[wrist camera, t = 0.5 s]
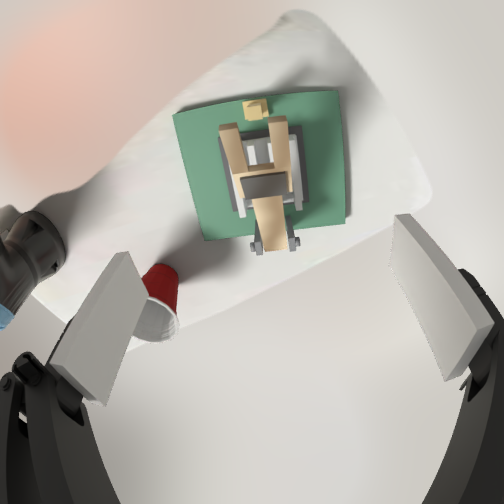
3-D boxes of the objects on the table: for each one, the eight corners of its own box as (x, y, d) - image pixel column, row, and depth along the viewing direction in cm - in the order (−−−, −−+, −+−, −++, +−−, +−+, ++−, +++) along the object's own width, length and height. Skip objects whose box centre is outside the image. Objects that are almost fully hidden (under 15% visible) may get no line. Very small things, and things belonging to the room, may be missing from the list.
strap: (256, 247, 37) (257, 254, 37) (218, 125, 19) (218, 133, 19) (294, 242, 37) (295, 250, 36) (285, 115, 19) (287, 123, 18)
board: (206, 236, 44) (195, 271, 36) (175, 113, 33) (150, 122, 26) (342, 219, 42) (360, 251, 34) (334, 90, 31) (357, 91, 23)
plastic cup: (201, 292, 51) (189, 342, 41) (154, 300, 53) (136, 346, 43) (178, 245, 45) (157, 292, 35) (128, 258, 47) (101, 302, 37)
